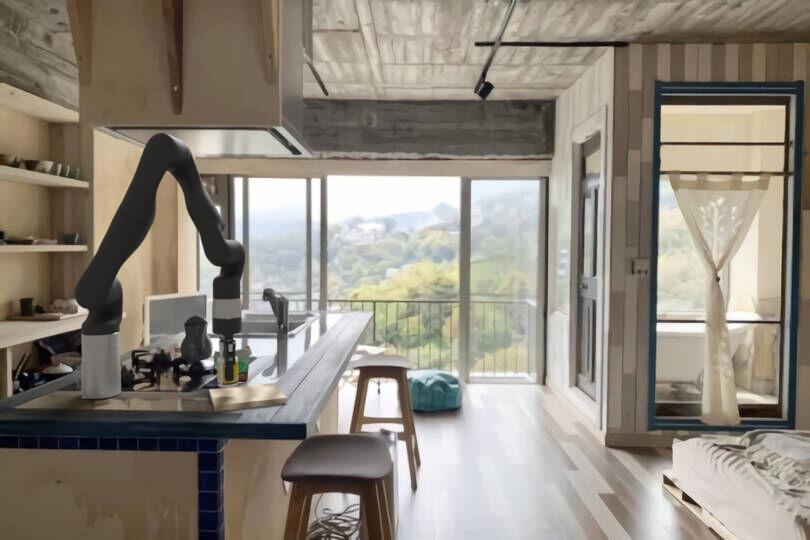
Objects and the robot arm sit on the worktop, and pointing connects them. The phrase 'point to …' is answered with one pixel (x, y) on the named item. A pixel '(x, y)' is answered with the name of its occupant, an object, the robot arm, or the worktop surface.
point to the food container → (240, 362)
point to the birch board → (246, 396)
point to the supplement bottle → (221, 373)
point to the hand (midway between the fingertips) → (227, 377)
